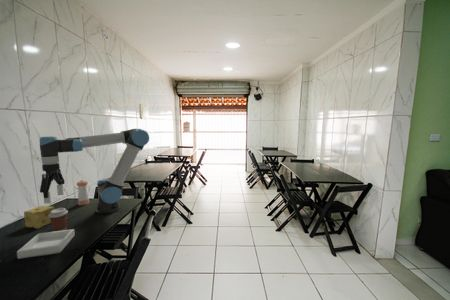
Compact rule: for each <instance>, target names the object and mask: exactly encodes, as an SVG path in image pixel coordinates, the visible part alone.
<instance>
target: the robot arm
mask: <svg viewBox="0 0 450 300" xmlns="http://www.w3.org/2000/svg"><path fill="white" fill-rule="evenodd" d="M149 142H150V135H149V133H148V131H146V130H145V129H142V128H132V129H128V130H121V131H120V132H116V133H106V134H105V133H104V134H96V135H88V136H78V137H67V138H65V139H58V137H57V136H41V137H40V138H39V151H40V157H41V158H40V160H41V163H42V165H41V168H42V171H43V172H45V173H42V174H41V183H40V187H39V193H42V194H43V203H44V204H51V203H52V202H51V201H52V200H51V199H52V198H51V192H50V188H51V185H52V182H56V184H57V185H56V190H57V196H63V195H64V186H63V185H65V181H66V180H65V179H64V177H63V175H62V172H61V169H60V168H61V167H60V157H59V153H72V152H75V153H76V152H82V151H83V150H84V149H85V148H93V147H94V148H95V147H100V146H108V145H117V144H123V145H126V147H125V149H124V151H123V153H122V154H121V157H120V159H119V161H118V162H117V165H116V167H115V169H114V170H113V173H112V174H111V176H110V178H103V179H99V180H97V183H96V184H97V185H96V186H97V194H98V195H97V198H98V201H97V205H96V209H95V211H96V213H97V214H99V215H106V214H113V213H115V212H117V211H119V210H120V208H121V205H120V202H119V200H120V199H121V198H122V196H123V193H122V192H123V189H124V188H125V184H124V182H125V180H126V177H127V176H128V174H129V172H130V170H131V168H132V166H133V164H134V162H135V160H136V158H137V156H138V154H139V152H141V151H143V149H144V147H145V146H146V145H148V143H149Z"/></svg>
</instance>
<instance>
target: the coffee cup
mask: <svg viewBox="0 0 450 300" xmlns="http://www.w3.org/2000/svg"><path fill="white" fill-rule="evenodd" d="M68 214H69V211H68V210H67V209H66V208H65V207H59V208H54V210H52V211H51V212H50V214H49V215H48V217H50V220H51V223H50V225H51V228H52V229H51V230H52V232H54V231H63V230H67V227H68V223H67V222H68V221H67V220H68V219H67V217H68Z"/></svg>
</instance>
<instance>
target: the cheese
mask: <svg viewBox="0 0 450 300" xmlns="http://www.w3.org/2000/svg"><path fill="white" fill-rule="evenodd" d="M54 209H55V207H54V206H44V205H39V206H37V207H33V208H31V209H29V210H26V211H24V212H23V214H24V215H23V216H24V223H25V227H26V228H34V229H41V228H43V227H44V226H47V225H49V224H50V225H51V220H50V217H48V215H49V214H50V212H51V211H52V210H54Z"/></svg>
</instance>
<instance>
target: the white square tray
mask: <svg viewBox="0 0 450 300" xmlns="http://www.w3.org/2000/svg"><path fill="white" fill-rule="evenodd" d="M75 232H76V231H75V229H74V228H73V229H65V230H63V231H54V232H53V231H47V232H39V233H37V234H36V235H35V236H33V237H32V238H31V239H30V240H29V241H28V242H27V243H25V244H24V245H23V246H22V247H20V248H19V249H18V250H17V251H16V257H17V259H18V260H19V259H20V260H21V259H26V258H33V257H40V256H48V255H53V254H56V255H57V254H60V253H61V252H62V251H63V250H64V249H65V247H67V246H68V244H69V243H70V242H71V241H72V239H73V238H74V237H75V236H76V234H75Z"/></svg>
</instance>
